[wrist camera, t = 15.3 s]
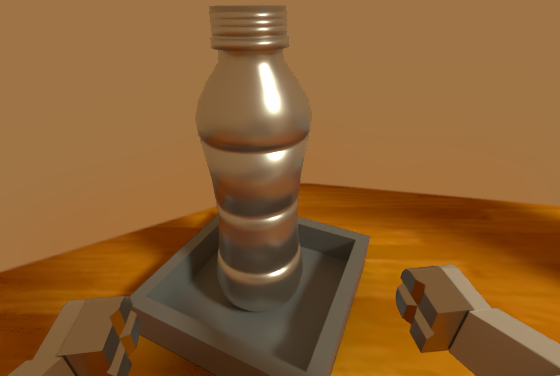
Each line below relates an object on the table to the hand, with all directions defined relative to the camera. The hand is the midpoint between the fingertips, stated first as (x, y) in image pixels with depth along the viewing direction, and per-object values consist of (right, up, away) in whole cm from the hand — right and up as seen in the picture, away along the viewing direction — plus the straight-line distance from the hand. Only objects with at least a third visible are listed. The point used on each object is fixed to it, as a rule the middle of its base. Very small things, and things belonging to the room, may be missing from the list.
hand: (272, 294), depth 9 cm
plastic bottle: (-1, -5, +16) cm, 17 cm away
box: (-1, -6, +16) cm, 17 cm away
